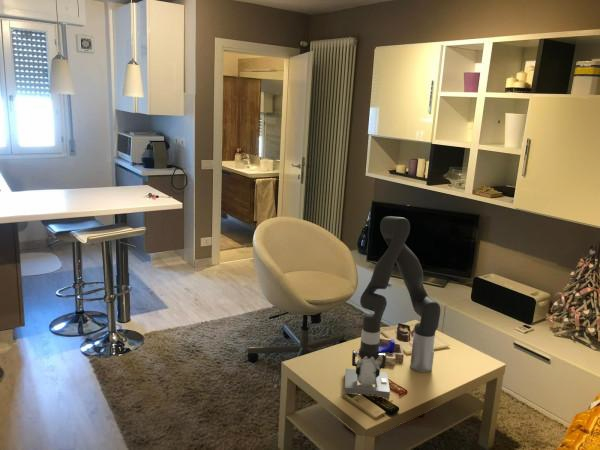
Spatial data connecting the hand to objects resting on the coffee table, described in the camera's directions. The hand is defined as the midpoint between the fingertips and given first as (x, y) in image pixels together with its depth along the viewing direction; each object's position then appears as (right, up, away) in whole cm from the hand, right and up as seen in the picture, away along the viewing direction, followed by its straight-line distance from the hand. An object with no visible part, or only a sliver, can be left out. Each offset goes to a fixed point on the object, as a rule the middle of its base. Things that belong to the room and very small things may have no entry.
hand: (367, 375), depth 208 cm
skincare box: (0, -4, +1) cm, 4 cm away
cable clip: (+11, +2, +31) cm, 33 cm away
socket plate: (0, -5, +1) cm, 5 cm away
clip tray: (+11, +2, +28) cm, 30 cm away
